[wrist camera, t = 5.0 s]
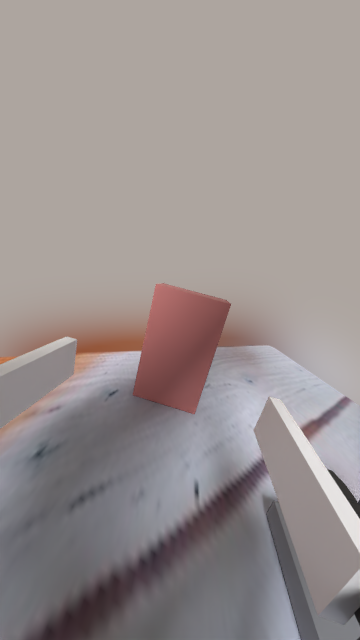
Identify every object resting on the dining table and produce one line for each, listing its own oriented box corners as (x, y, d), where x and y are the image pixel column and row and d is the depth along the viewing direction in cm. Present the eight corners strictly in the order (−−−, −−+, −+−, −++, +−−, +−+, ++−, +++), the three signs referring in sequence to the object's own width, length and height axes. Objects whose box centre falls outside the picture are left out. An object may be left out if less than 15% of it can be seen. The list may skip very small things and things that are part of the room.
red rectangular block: (195, 395, 24) (226, 300, 21) (194, 414, 21) (231, 304, 18) (141, 379, 25) (163, 283, 21) (132, 395, 22) (155, 284, 18)
